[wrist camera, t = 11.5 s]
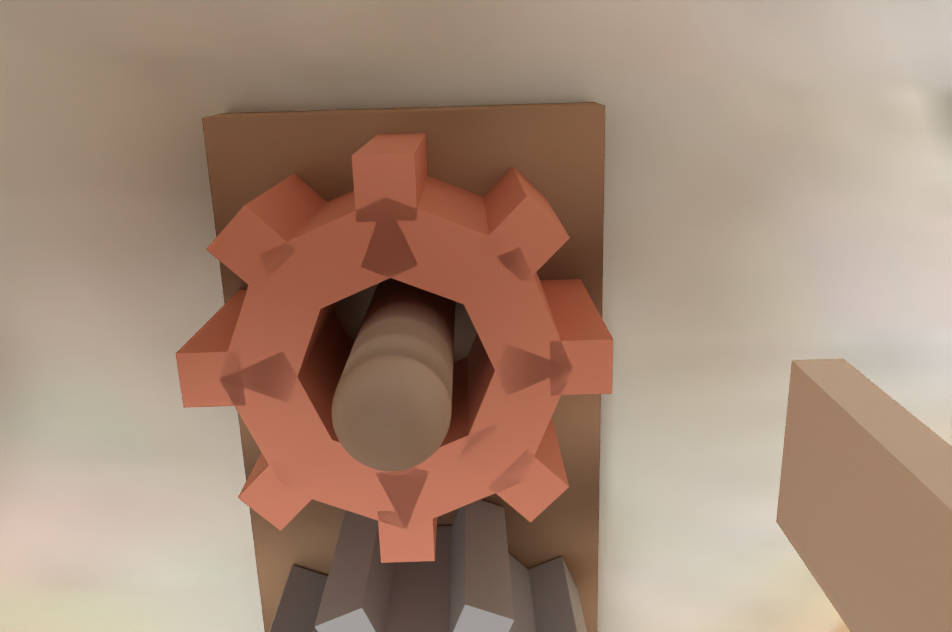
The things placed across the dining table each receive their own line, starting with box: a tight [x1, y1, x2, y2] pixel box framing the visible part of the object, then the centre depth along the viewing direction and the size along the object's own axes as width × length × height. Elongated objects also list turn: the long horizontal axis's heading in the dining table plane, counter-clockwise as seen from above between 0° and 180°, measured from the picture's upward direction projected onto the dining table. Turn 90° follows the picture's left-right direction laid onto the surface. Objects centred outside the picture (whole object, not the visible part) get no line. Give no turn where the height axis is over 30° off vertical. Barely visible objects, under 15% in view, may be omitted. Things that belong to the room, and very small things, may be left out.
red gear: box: [176, 133, 613, 563], centre depth 20 cm, size 9×9×5 cm
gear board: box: [202, 102, 605, 632], centre depth 21 cm, size 20×10×10 cm, turn 2°
